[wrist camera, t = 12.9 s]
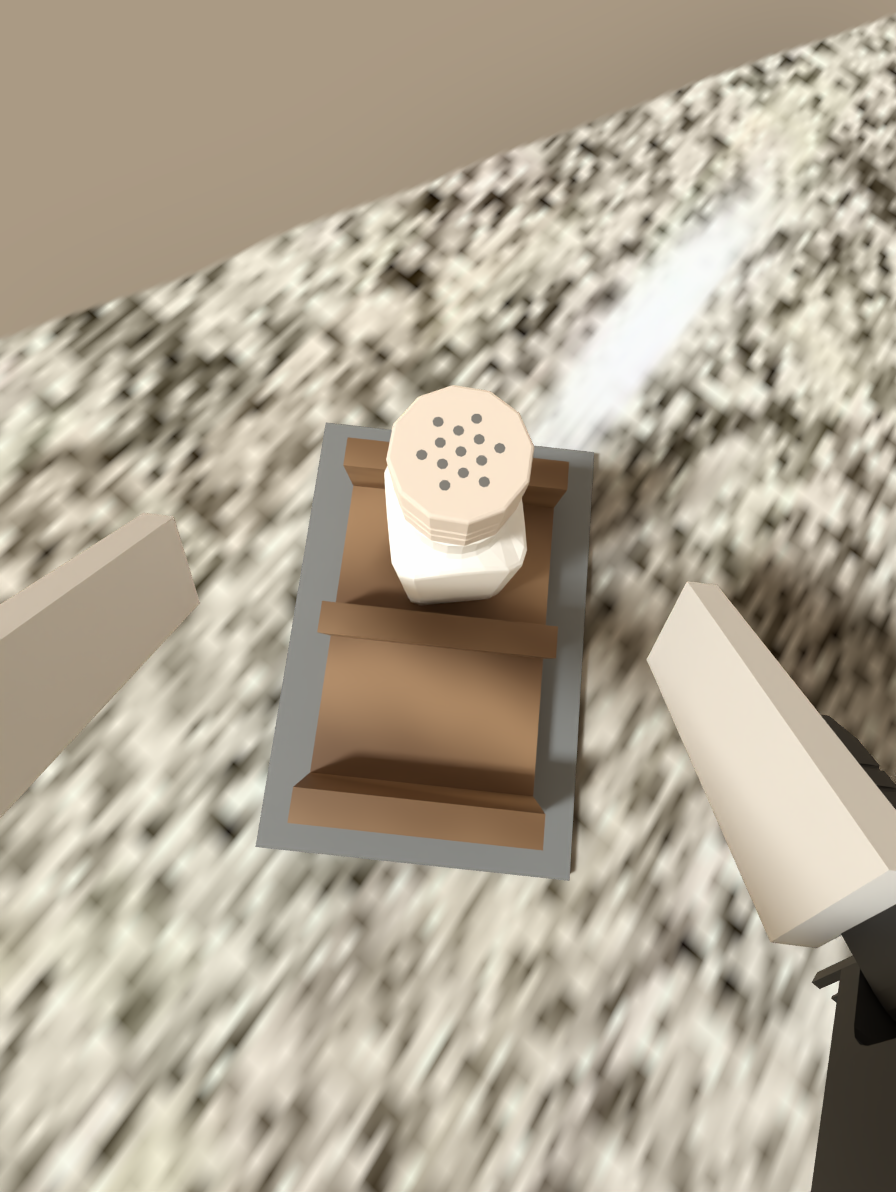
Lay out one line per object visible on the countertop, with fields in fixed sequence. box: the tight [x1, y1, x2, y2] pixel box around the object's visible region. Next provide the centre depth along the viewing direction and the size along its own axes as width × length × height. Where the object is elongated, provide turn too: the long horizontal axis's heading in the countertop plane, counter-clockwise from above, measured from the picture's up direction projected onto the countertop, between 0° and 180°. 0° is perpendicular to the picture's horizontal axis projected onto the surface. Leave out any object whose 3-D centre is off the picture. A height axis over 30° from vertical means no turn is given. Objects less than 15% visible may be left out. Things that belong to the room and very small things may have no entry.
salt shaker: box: [384, 385, 534, 605], centre depth 14 cm, size 4×4×10 cm
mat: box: [256, 423, 594, 881], centre depth 19 cm, size 19×13×1 cm
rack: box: [287, 437, 569, 850], centre depth 17 cm, size 15×9×3 cm, turn 174°
